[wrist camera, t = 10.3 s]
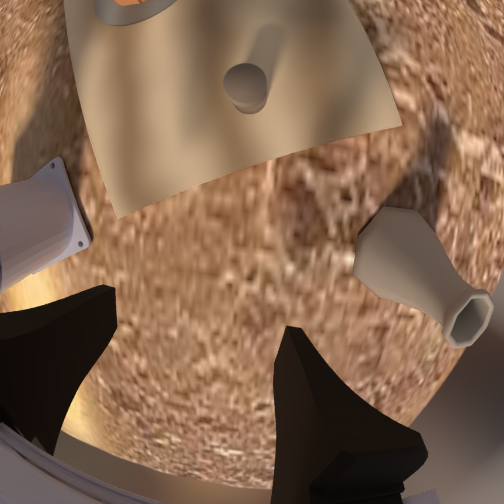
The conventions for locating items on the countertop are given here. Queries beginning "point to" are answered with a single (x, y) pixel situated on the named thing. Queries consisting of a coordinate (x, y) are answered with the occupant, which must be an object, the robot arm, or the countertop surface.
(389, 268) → the flask
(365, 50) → the board
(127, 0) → the orange domed tapered piece
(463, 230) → the countertop surface
